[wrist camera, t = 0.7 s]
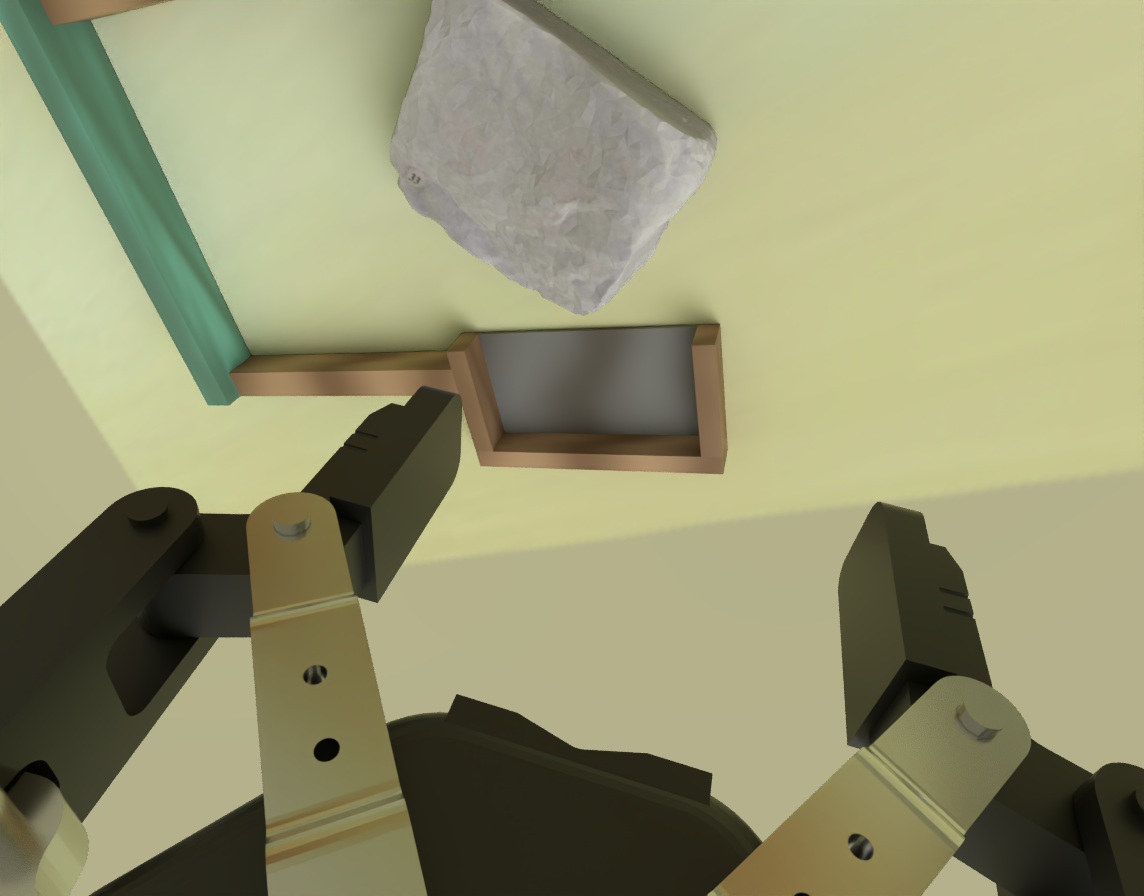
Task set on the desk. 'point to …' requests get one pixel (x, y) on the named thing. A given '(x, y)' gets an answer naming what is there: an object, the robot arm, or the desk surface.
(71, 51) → the trap lane
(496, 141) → the stone block
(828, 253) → the desk surface
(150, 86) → the desk surface
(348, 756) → the robot arm
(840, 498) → the desk surface
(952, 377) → the desk surface
